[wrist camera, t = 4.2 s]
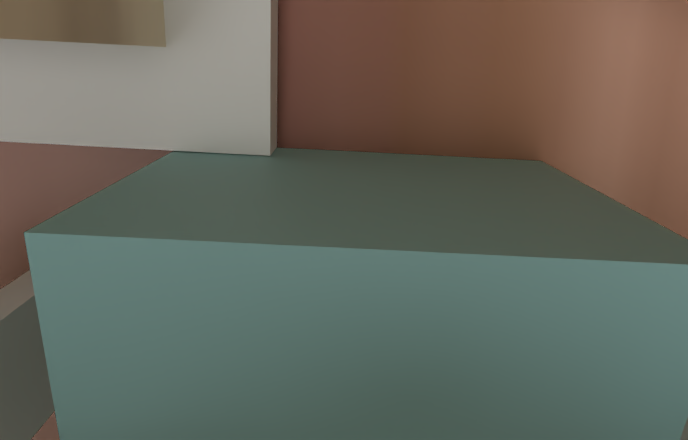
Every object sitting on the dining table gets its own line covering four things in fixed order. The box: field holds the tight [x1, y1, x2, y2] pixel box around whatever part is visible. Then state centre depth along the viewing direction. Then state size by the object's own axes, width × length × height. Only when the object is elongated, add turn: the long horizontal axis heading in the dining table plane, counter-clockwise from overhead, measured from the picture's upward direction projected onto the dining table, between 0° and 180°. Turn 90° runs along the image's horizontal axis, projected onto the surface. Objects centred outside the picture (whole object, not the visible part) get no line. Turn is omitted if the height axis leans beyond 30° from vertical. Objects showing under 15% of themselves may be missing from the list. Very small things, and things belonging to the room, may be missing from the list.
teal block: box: [24, 148, 688, 440], centre depth 10 cm, size 8×8×6 cm
